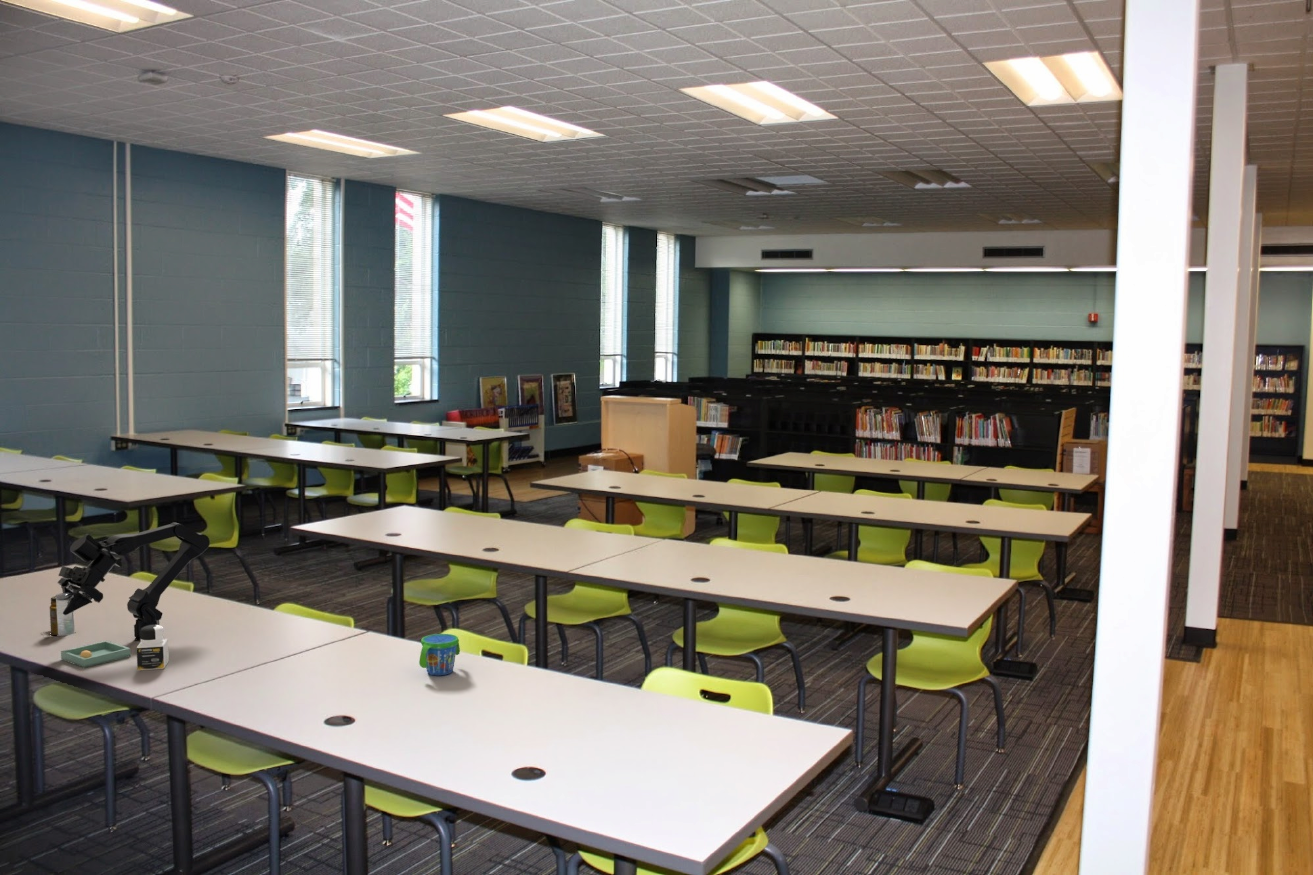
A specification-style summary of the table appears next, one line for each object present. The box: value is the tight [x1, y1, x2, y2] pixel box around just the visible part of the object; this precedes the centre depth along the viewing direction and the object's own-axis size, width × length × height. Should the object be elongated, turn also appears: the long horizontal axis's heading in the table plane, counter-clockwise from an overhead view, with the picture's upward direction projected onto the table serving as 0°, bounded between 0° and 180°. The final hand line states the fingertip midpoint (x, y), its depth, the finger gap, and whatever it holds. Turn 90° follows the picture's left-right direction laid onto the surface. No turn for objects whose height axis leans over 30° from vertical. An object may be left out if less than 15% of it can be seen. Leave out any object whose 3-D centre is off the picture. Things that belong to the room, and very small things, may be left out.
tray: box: [60, 640, 132, 669], centre depth 306 cm, size 14×14×2 cm
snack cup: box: [418, 633, 461, 676], centre depth 296 cm, size 16×10×10 cm
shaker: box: [55, 592, 76, 637], centre depth 307 cm, size 5×5×12 cm
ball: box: [80, 650, 92, 658], centre depth 302 cm, size 3×3×3 cm
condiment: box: [40, 595, 76, 638], centre depth 331 cm, size 7×8×12 cm
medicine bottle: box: [136, 624, 169, 671], centre depth 299 cm, size 7×7×12 cm
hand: (60, 612), depth 306 cm, fingers closed on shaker, 4 cm apart
